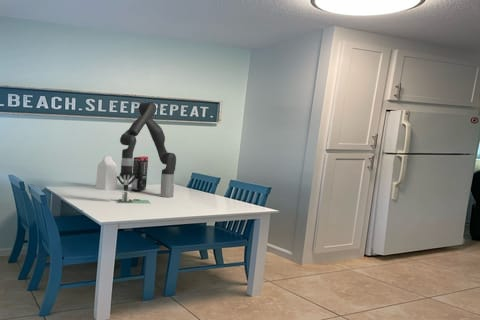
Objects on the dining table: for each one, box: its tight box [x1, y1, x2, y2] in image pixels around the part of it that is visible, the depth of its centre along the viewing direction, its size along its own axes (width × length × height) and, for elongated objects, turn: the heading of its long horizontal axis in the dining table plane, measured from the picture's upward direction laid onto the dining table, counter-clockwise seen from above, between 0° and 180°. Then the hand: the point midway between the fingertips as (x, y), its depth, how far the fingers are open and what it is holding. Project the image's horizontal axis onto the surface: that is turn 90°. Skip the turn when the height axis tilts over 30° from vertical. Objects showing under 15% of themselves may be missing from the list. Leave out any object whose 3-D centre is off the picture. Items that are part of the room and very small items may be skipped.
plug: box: [121, 191, 130, 201], centre depth 304 cm, size 4×4×6 cm
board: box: [115, 198, 151, 205], centre depth 305 cm, size 22×14×2 cm, turn 109°
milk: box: [95, 155, 118, 191], centre depth 362 cm, size 12×12×26 cm
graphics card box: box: [130, 156, 149, 192], centre depth 364 cm, size 17×7×27 cm, turn 172°
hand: (125, 190), depth 304 cm, fingers closed
